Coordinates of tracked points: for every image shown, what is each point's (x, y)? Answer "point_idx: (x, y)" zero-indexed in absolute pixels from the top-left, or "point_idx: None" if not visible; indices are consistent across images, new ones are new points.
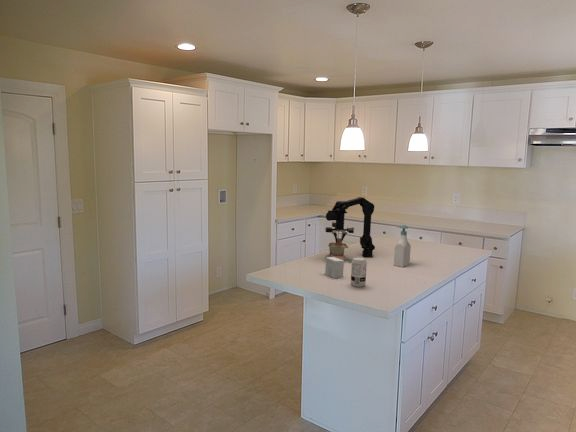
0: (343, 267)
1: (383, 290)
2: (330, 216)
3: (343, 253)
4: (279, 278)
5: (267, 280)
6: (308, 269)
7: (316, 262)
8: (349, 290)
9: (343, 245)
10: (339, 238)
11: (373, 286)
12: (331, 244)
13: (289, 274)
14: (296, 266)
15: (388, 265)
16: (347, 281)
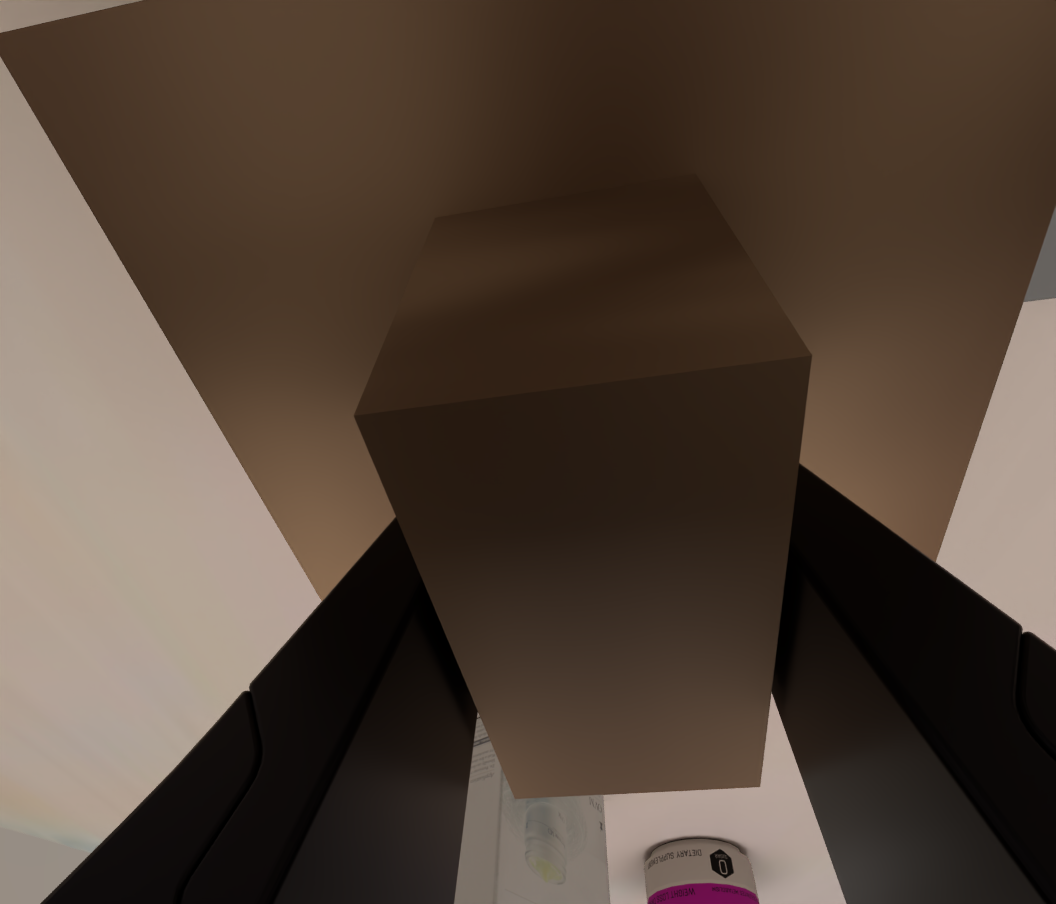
0: (607, 879)
1: (839, 891)
2: None
3: None
4: (123, 819)
5: (78, 843)
6: (217, 651)
7: (154, 339)
8: (621, 898)
9: (801, 462)
10: (687, 433)
11: (800, 863)
12: (252, 406)
13: (132, 765)
14: (15, 581)
15: None
16: (628, 824)
